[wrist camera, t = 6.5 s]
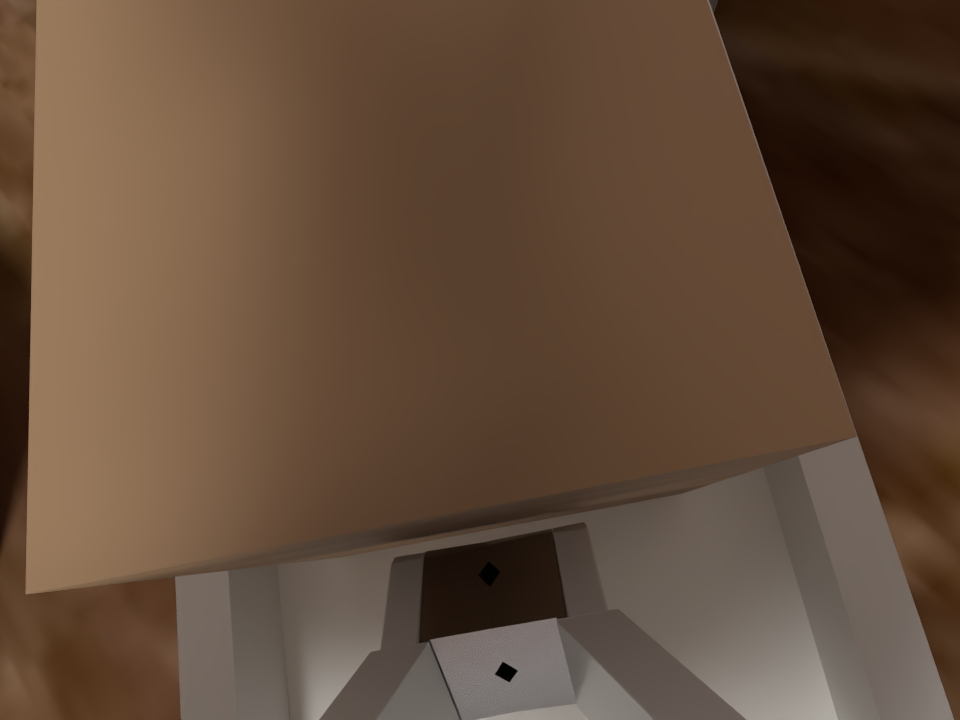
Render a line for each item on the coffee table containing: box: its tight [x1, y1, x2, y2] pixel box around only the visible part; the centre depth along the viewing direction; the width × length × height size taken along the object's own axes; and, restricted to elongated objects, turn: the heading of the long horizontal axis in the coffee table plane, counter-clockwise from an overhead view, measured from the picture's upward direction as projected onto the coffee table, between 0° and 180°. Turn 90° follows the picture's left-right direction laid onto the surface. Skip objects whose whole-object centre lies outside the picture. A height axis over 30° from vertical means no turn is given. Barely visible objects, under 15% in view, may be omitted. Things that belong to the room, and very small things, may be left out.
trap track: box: [175, 0, 954, 720], centre depth 14 cm, size 39×12×5 cm, turn 10°
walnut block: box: [26, 0, 857, 594], centre depth 10 cm, size 7×7×8 cm
